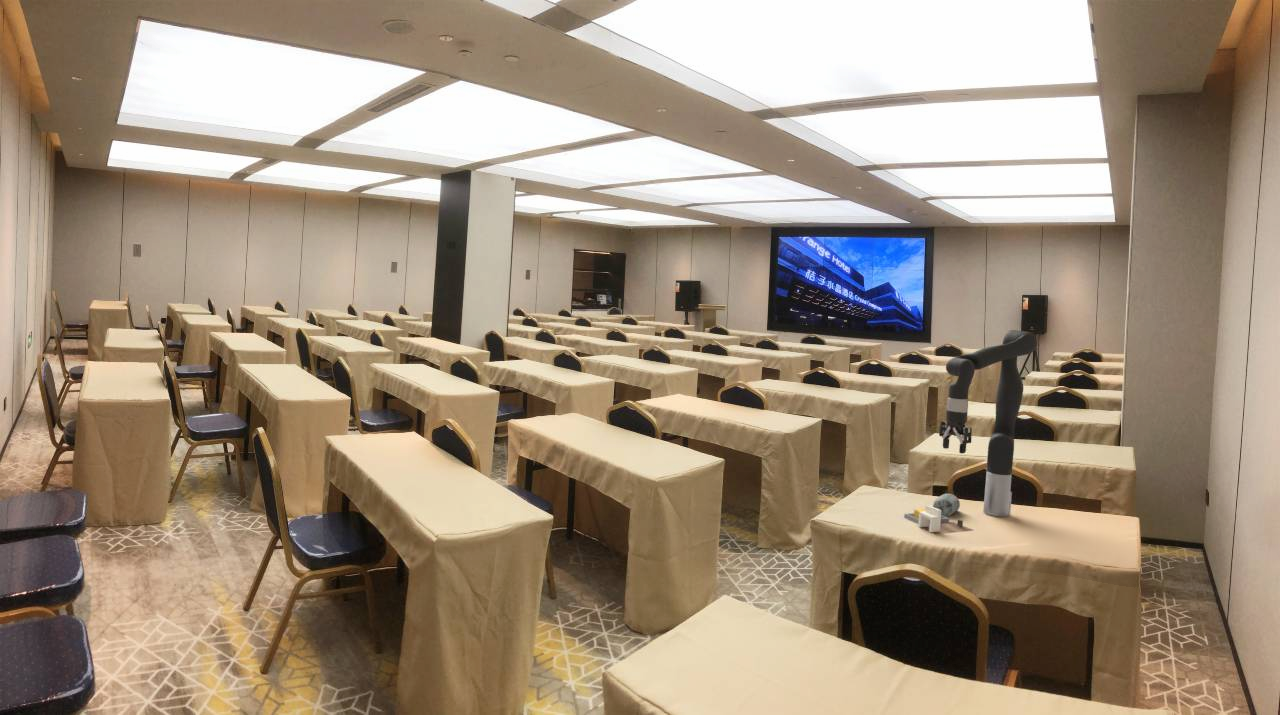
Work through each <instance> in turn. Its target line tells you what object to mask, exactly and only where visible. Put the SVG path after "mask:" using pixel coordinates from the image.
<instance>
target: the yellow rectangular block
mask: <svg viewBox="0 0 1280 715" xmlns="http://www.w3.org/2000/svg"><path fill="white" fill-rule="evenodd" d="M924 511H925V508H916V509H914V511H913V513H914V517H915V518H917V519H919V512H924Z"/></svg>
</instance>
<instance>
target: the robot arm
mask: <svg viewBox="0 0 1280 715" xmlns="http://www.w3.org/2000/svg"><path fill="white" fill-rule="evenodd" d="M1037 347H1038V338H1037V336H1036V335H1035V334H1034V333H1033V332H1029V331H1023V330H1017V329H1010V330H1008V331H1007V332H1006V333H1005V335H1004V337H1003V340H1002V344H998V345H993V346H987V347H984V348H980V349H978V350H976V351H974V352H970V353H967V354H962V355H958V356H953V357H952V358H951V359H948V361H947V362H946V364H945V369H946V373H948V374H949V375H950V376H953V377H957V380H956V381H955V382H951V383H949V386H948V395H947V396H948V397H947V401H946V411H945V412H946V413H945V421H940V425H939V434H938V436H939V437H942V438H941V439H943V440H942V447H943V449H949V448H950V438H951V436H954V437H956V438H957V439H958V440H959V442H960V443H959V450H958V451H959V454H966V453H967V452H966V451H967V444H971V443H972V436H973V435H972V430H973V429H972V427H967V426H966V423H967V422H968V414H969V412H968V411H969V388H970V386H971V384H972V381H973V378H974V376H975V371H977V370H978V371H979V370H982V369H984V368H986V367H989V366H991V365H994V364H996V363H1001V364H1000V373H999V378H998V385H997V391H996V397H995V398H996V399H995V421H994V426H993V428H992V432H991V435H990V438H989V441H988V446H987V458H986V459H987V460H986V472H985V473H986V474H985V486H984V499H983V509H982V510H983V513H984V514H986V515H989V516H993V517H1001V518H1004V517H1008V516H1010V515H1011V510H1012V496H1013V492H1012V491H1011V486H1012V474H1013V463H1014V462H1013V461H1014V454H1015V453H1014V452H1015V426H1016V420H1017V418H1018V415H1019V413H1020V408H1021V404H1022V400H1023V396H1024V395H1023V394H1024V383H1023V379H1022V377H1021V374H1020V372H1019V370H1018V365H1017V364H1018V363H1017V362H1018V357H1020V356H1021V357H1022V356H1026V355H1030V354H1033V352H1034V351H1035V350H1036V349H1037Z"/></svg>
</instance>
